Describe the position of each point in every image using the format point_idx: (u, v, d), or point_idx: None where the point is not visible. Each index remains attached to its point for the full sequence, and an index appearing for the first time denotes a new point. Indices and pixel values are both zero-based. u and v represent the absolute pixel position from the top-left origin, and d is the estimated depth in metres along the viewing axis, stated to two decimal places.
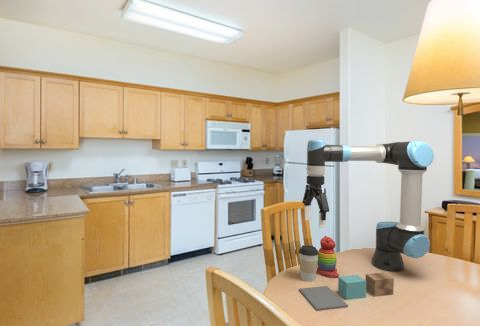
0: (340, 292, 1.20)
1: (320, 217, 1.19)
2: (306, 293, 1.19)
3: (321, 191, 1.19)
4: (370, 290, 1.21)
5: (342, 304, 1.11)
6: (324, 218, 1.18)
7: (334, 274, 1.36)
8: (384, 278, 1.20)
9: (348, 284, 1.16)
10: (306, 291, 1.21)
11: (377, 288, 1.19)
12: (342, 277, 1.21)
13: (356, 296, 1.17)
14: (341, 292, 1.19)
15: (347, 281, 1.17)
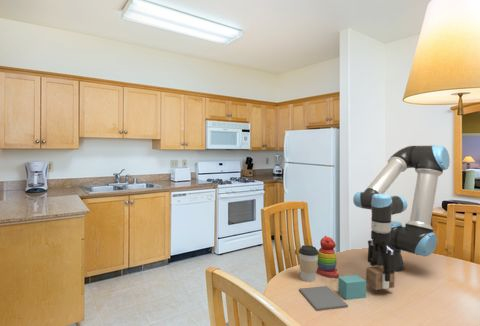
0: (340, 292, 1.20)
1: (384, 278, 1.19)
2: (306, 293, 1.19)
3: (390, 254, 1.15)
4: (371, 283, 1.21)
5: (342, 304, 1.11)
6: (388, 279, 1.18)
7: (334, 274, 1.36)
8: None
9: (348, 284, 1.16)
10: (306, 291, 1.21)
11: (378, 281, 1.19)
12: (342, 277, 1.21)
13: (356, 296, 1.17)
14: (341, 292, 1.19)
15: (347, 281, 1.17)
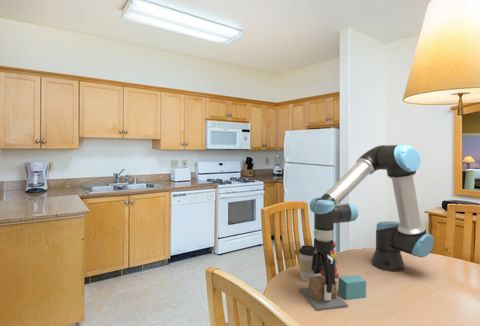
0: (340, 292, 1.20)
1: (325, 289, 1.12)
2: (306, 293, 1.19)
3: (330, 262, 1.09)
4: (312, 294, 1.15)
5: (342, 304, 1.11)
6: (330, 290, 1.11)
7: None
8: None
9: (348, 284, 1.16)
10: (306, 291, 1.21)
11: (318, 292, 1.13)
12: (342, 277, 1.21)
13: (356, 296, 1.17)
14: (341, 292, 1.19)
15: (347, 281, 1.17)
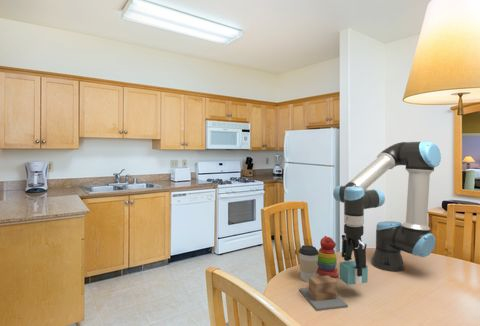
0: (342, 277, 1.20)
1: (356, 273, 1.16)
2: (306, 293, 1.19)
3: (361, 248, 1.12)
4: (312, 294, 1.15)
5: (342, 304, 1.11)
6: (360, 274, 1.15)
7: (334, 274, 1.36)
8: (326, 281, 1.14)
9: (349, 269, 1.16)
10: (306, 291, 1.21)
11: (318, 292, 1.13)
12: (343, 262, 1.21)
13: None
14: (343, 277, 1.19)
15: (348, 266, 1.17)
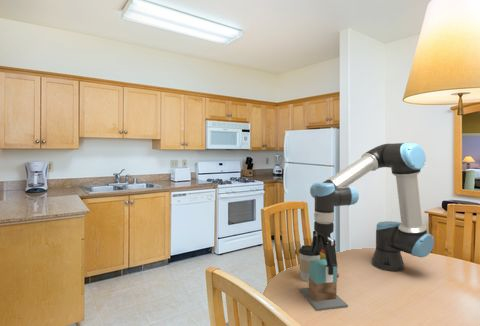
0: (311, 276, 1.17)
1: (327, 271, 1.11)
2: (306, 293, 1.19)
3: (330, 243, 1.09)
4: (312, 294, 1.15)
5: (342, 304, 1.11)
6: (331, 273, 1.10)
7: None
8: None
9: (318, 267, 1.13)
10: (306, 291, 1.21)
11: (318, 292, 1.13)
12: (313, 261, 1.17)
13: None
14: (312, 276, 1.16)
15: (317, 264, 1.14)
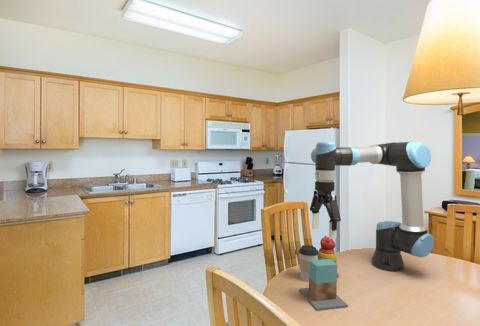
0: (311, 276, 1.17)
1: (330, 227, 1.08)
2: (306, 293, 1.19)
3: (331, 198, 1.08)
4: (312, 294, 1.15)
5: (342, 304, 1.11)
6: (335, 228, 1.07)
7: None
8: None
9: (318, 267, 1.13)
10: (306, 291, 1.21)
11: (318, 292, 1.13)
12: (313, 261, 1.17)
13: (326, 280, 1.14)
14: (312, 276, 1.16)
15: (317, 264, 1.14)
